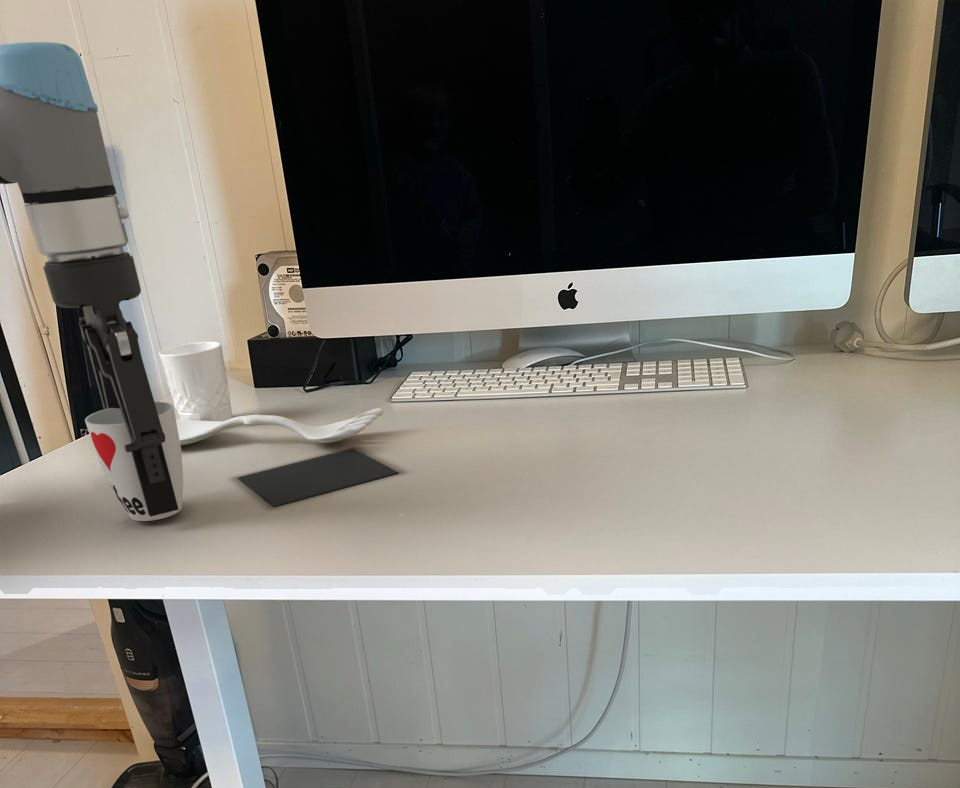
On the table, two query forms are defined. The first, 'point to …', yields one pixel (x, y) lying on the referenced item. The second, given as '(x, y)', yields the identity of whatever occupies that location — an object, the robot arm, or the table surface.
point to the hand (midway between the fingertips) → (153, 500)
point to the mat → (315, 476)
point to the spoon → (323, 434)
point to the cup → (120, 465)
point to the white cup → (197, 381)
